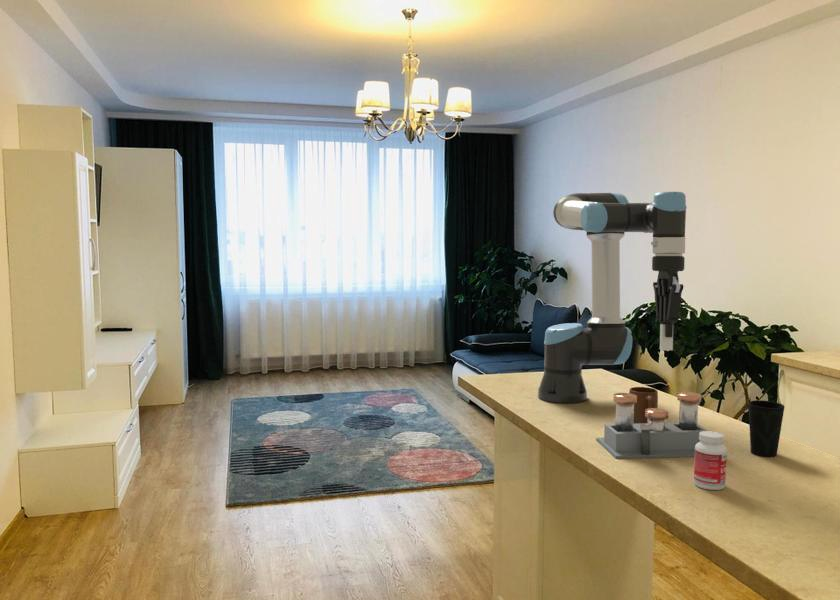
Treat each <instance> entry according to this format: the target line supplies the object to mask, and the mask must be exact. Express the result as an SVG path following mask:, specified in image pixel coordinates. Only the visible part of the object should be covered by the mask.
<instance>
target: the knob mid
mask: <svg viewBox="0 0 840 600" xmlns="http://www.w3.org/2000/svg"><path fill="white" fill-rule="evenodd" d="M669 413H670V412H669V411H668V410H667V409H663V408H648V409H646V410H645V417H647V424H649V425H652V430H650V431H665V425H666V423H667V420H668V419H669Z"/></svg>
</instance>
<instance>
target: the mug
mask: <svg viewBox="0 0 840 600" xmlns="http://www.w3.org/2000/svg"><path fill="white" fill-rule="evenodd" d="M628 393H630V394H634V395H636V396H637V403H634V422H633V424H638V423H647V417H645V410H646V409H648V408H658V406H659V404H658V403H659V396H658V395H659V394H658V393H659V391H658V390H657V389H656V388H653V387H648V386H647V387H645V386H635V387H634V386H633V387H630V388H629V392H628Z"/></svg>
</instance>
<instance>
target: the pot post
mask: <svg viewBox="0 0 840 600" xmlns="http://www.w3.org/2000/svg"><path fill="white" fill-rule="evenodd" d="M640 429H641V454H643V455H649V454H650V430H652V425H649V424H641V425H640Z"/></svg>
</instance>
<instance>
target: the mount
mask: <svg viewBox="0 0 840 600" xmlns="http://www.w3.org/2000/svg"><path fill="white" fill-rule="evenodd" d="M641 424H647V423H638V424H633V431H631V432H622V431H618V430H616V429H615V423H604V433H603V434H604V436H603V437H596V439H595V440H596V442H597V443H598V444H600V445H601V446H602V447H603V448H604V449H605V450H606V451H607V452H608V453H609V454H611V456H612V457H614V459H640V458H641V459H644V458H645V459H646V458H647V459H648V458H653V459H654V458H685V457H686V458H688V457H689V458H691V457H692V458H693V457H694V458H695V445H696V444H697V443H698V442H700V440H699V433H700V432H702V431H709V430H708V429H706V428H705V427H703V426H701V425H699V424H698V423H697V430H683V429H680V428H679V422H666V425H665V431H650V454H649V455H643V454H641V429H640V425H641Z"/></svg>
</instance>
